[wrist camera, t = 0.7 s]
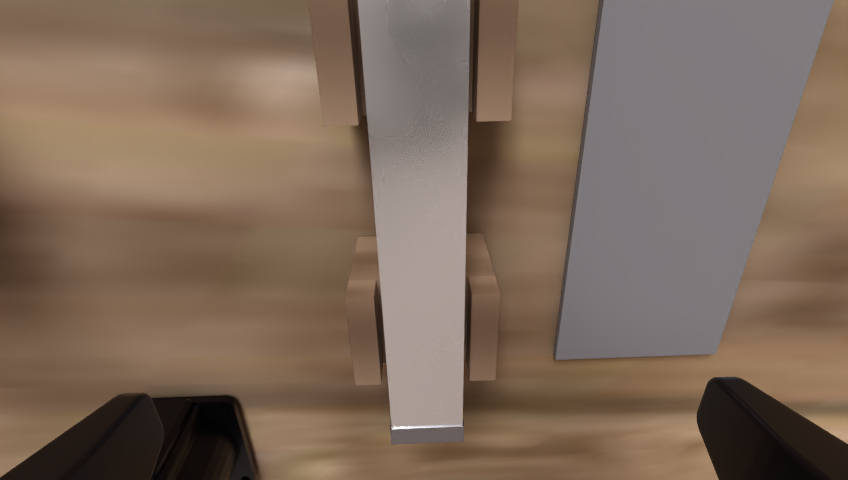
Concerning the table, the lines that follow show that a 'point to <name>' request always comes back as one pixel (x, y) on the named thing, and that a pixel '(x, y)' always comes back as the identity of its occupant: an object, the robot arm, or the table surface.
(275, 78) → the table surface
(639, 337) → the mat
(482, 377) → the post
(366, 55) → the rail
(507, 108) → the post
